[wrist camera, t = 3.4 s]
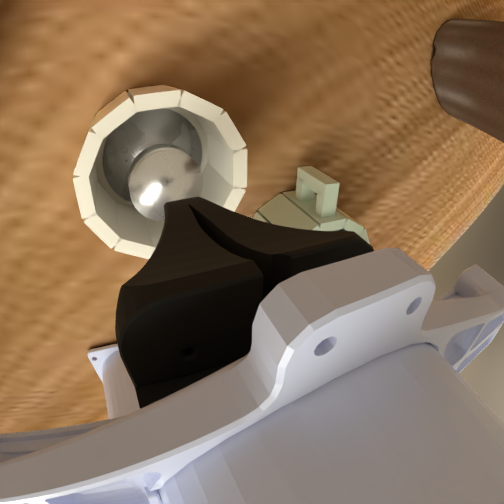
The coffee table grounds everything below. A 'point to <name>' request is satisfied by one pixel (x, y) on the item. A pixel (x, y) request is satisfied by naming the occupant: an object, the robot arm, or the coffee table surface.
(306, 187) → the sage press carafe
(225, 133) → the cream press carafe
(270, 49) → the coffee table surface
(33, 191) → the coffee table surface
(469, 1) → the coffee table surface
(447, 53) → the plant pot
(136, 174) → the silver knobbed plunger
